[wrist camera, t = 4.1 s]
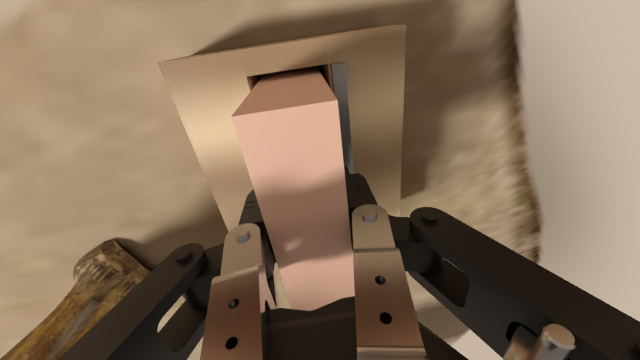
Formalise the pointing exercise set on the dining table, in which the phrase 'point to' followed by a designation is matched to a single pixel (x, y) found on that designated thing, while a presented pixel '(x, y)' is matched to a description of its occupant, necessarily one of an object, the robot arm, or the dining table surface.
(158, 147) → the dining table surface
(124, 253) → the sculpture
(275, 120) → the pink square prism
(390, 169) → the dispenser
